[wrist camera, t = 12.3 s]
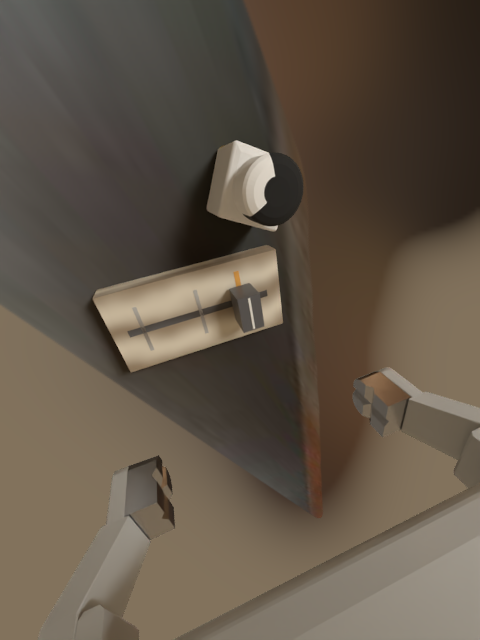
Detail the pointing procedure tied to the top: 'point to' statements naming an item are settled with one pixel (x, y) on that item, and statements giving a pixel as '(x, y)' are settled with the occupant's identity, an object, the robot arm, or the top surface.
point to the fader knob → (247, 307)
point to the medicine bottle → (254, 186)
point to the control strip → (187, 306)
